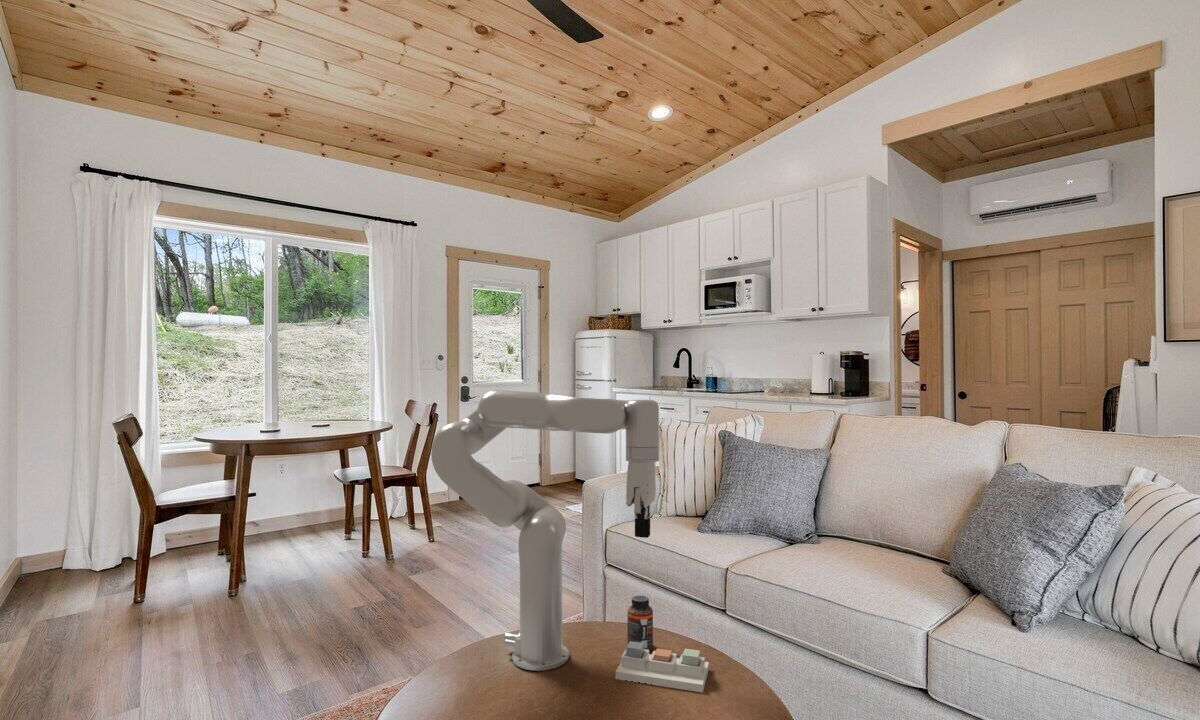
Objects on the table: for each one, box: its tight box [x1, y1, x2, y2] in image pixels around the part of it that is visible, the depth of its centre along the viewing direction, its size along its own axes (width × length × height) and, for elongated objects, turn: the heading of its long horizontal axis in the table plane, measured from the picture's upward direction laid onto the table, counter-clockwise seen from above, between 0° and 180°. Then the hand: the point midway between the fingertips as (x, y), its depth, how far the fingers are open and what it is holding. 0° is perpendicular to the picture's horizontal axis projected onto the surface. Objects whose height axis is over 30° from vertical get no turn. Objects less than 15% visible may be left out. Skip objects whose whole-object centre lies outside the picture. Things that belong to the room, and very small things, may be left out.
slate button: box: [625, 641, 644, 658], centre depth 123 cm, size 3×3×2 cm
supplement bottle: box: [626, 595, 654, 651], centre depth 134 cm, size 6×6×11 cm
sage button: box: [682, 648, 701, 666], centre depth 120 cm, size 3×3×2 cm
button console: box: [614, 648, 710, 693], centre depth 122 cm, size 18×10×4 cm, turn 73°
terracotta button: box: [654, 648, 673, 662], centre depth 122 cm, size 3×3×2 cm
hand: (642, 536), depth 129 cm, fingers closed
